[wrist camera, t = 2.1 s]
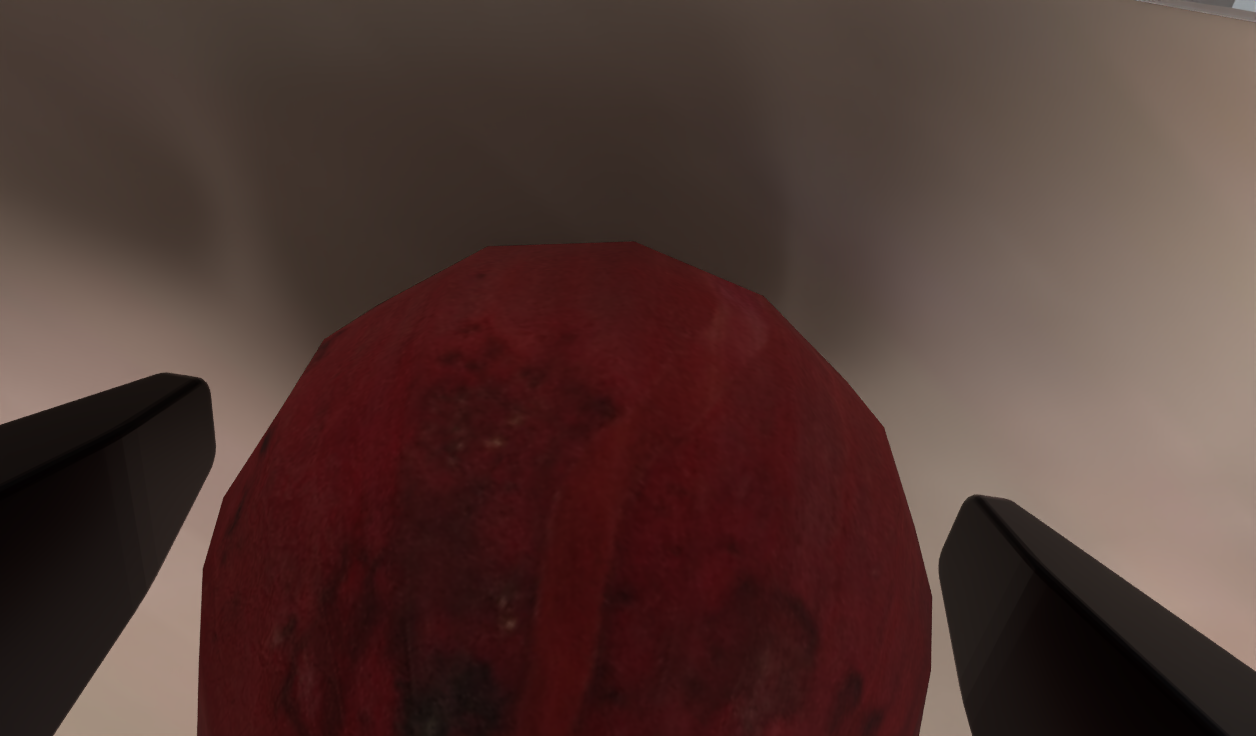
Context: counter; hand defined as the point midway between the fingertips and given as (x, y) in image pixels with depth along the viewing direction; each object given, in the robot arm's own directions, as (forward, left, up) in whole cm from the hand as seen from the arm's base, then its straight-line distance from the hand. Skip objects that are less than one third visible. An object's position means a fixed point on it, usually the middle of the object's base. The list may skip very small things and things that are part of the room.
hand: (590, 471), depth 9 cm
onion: (0, 0, -2) cm, 2 cm away
